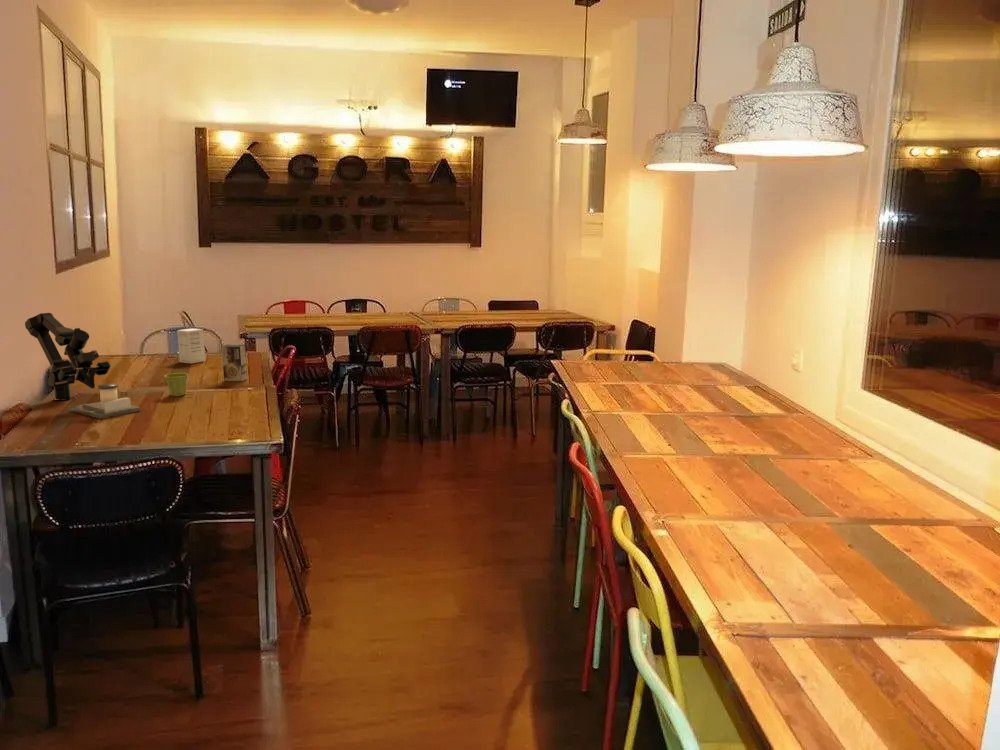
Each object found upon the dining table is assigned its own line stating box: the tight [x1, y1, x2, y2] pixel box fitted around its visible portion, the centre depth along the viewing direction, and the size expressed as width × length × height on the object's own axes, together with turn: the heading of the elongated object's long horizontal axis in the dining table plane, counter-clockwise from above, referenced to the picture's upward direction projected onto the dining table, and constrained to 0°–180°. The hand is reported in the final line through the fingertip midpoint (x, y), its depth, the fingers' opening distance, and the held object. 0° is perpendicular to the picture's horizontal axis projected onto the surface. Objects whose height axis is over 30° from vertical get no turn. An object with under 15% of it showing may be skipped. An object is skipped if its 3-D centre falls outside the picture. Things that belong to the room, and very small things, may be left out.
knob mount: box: [70, 397, 141, 420], centre depth 318 cm, size 22×16×6 cm
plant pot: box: [164, 372, 189, 397], centre depth 346 cm, size 9×9×9 cm
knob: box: [97, 383, 119, 402], centre depth 315 cm, size 7×7×9 cm
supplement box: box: [176, 327, 207, 364], centre depth 424 cm, size 10×9×17 cm
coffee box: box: [220, 344, 248, 382], centre depth 377 cm, size 9×6×16 cm
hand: (93, 387), depth 321 cm, fingers closed
